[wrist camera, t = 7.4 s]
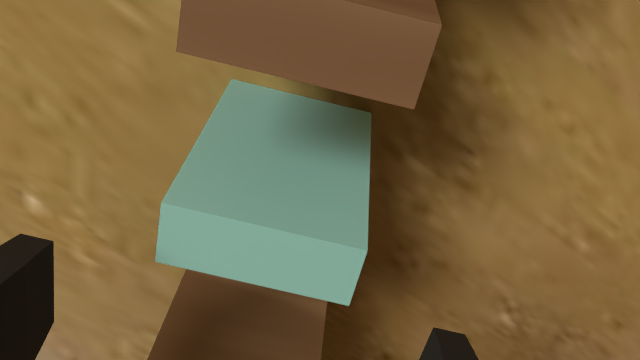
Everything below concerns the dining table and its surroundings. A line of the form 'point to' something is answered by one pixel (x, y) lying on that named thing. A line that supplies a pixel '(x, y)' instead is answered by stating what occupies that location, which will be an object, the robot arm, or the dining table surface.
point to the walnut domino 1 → (320, 41)
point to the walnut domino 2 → (239, 322)
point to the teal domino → (273, 195)
